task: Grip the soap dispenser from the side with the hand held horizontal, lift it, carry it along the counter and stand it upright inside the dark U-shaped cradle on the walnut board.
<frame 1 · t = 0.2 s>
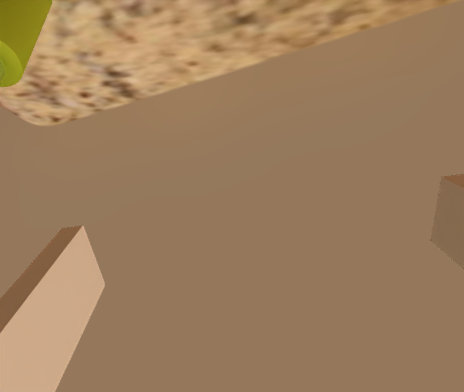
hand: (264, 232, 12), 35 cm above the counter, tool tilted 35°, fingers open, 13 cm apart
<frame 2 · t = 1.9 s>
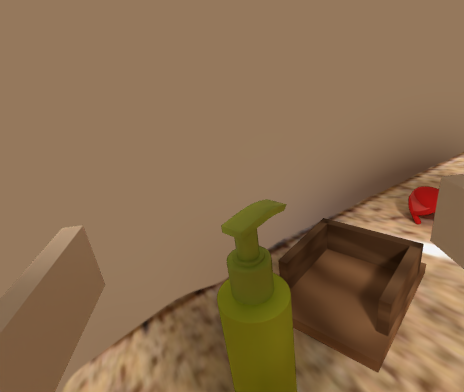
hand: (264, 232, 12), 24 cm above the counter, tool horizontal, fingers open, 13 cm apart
u rest: (347, 291, 41), on the counter
cap: (430, 221, 54), on the counter
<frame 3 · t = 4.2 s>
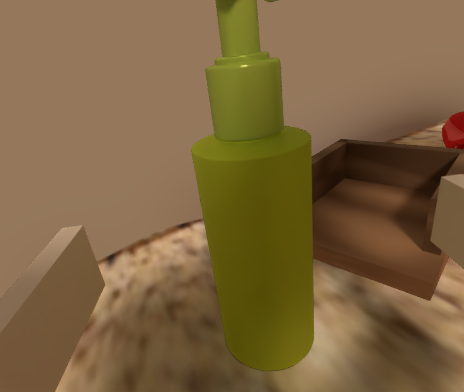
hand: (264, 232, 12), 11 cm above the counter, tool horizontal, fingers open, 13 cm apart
u rest: (373, 219, 32), on the counter
soap dispenser: (273, 327, 21), on the counter
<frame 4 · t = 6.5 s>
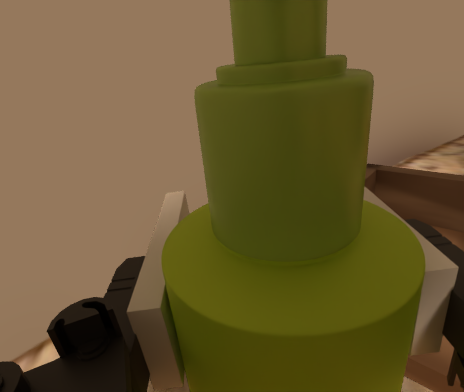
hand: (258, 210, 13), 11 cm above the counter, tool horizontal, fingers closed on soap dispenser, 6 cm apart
u rest: (419, 276, 24), on the counter
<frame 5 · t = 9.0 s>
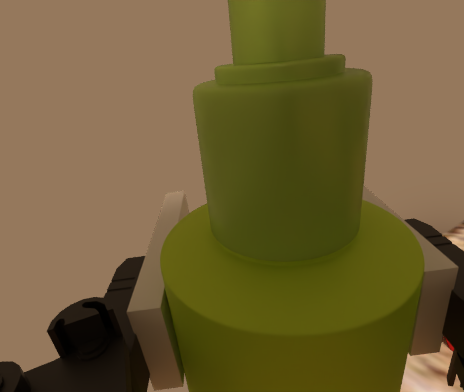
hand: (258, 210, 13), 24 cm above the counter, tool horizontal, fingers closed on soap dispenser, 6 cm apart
when the fingers open (14 cm above the counter, at t = 11.4 s): soap dispenser drops 1 cm, resting on u rest.
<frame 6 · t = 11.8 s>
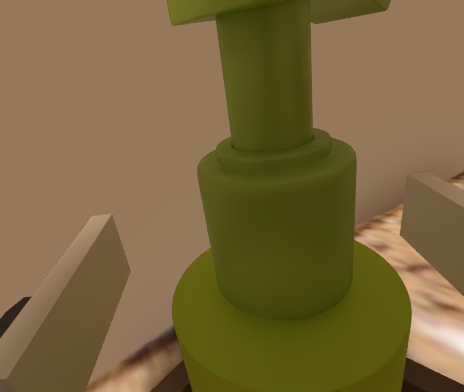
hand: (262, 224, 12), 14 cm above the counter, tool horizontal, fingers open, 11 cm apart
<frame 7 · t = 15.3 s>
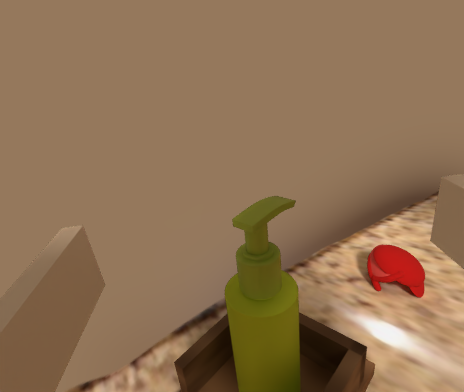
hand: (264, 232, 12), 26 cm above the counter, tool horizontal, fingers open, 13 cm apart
soap dispenser: (273, 391, 31), point 1 cm above the counter, touching u rest
cap: (393, 286, 44), on the counter
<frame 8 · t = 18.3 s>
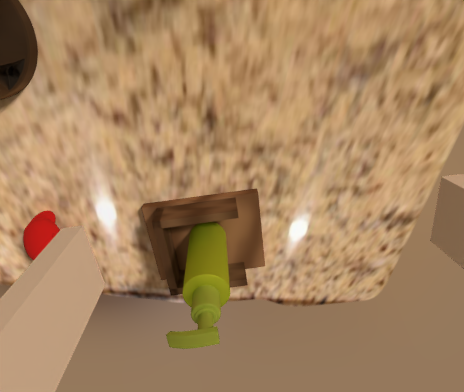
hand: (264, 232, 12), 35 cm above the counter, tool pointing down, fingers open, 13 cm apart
u rest: (207, 234, 52), on the counter
soap dispenser: (204, 236, 50), point 1 cm above the counter, touching u rest
cap: (55, 229, 50), on the counter
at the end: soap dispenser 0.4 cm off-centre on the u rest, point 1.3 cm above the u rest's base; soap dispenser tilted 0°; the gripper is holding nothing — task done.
